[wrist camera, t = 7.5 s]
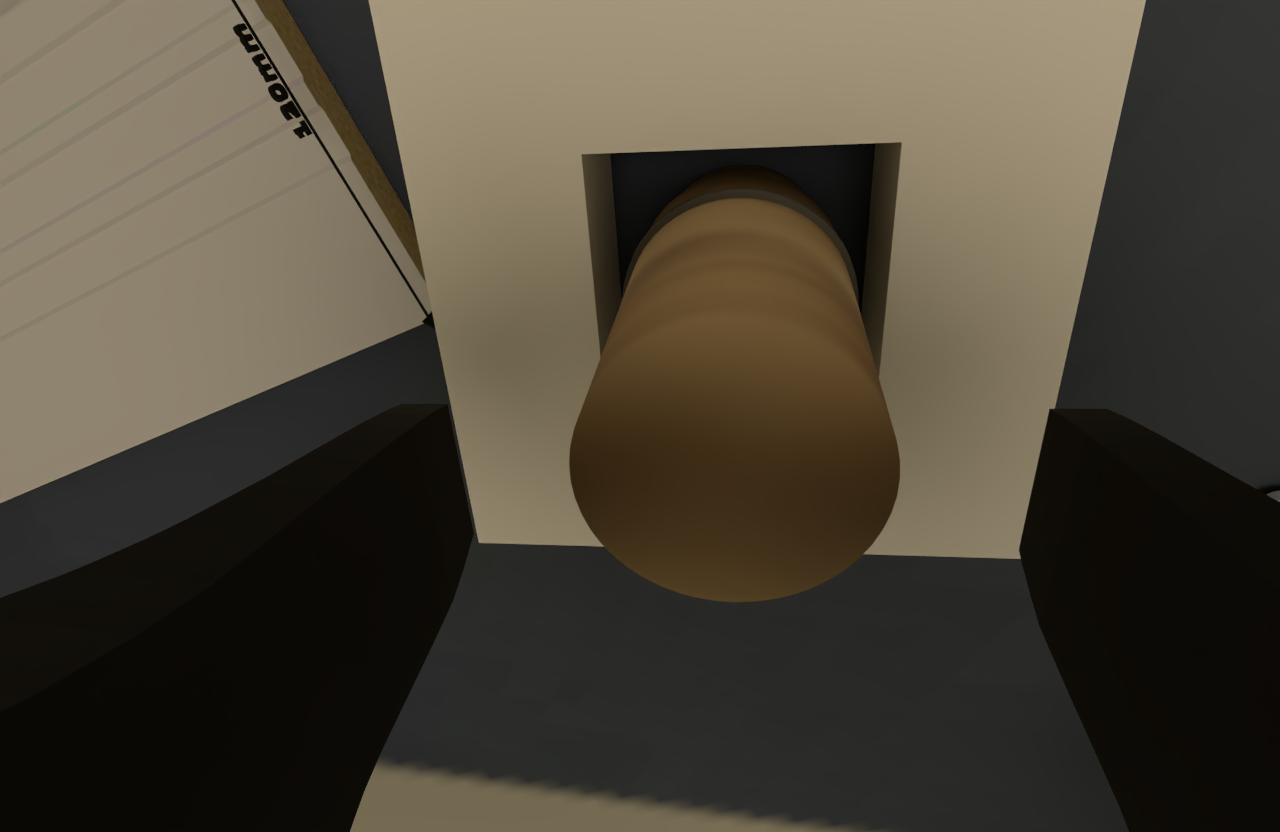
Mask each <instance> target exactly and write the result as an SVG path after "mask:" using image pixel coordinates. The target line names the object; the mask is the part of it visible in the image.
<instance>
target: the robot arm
mask: <svg viewBox="0 0 1280 832" xmlns="http://www.w3.org/2000/svg"><path fill="white" fill-rule="evenodd" d="M473 534H474V532H473V528H472V523H471V518H470V513H469V508H468V503H467V498H466V493H465V489H464V484H463V479H462V474H461V469H460V464H459V459H458V454H457V449H456V445H455V440H454V435H453V430H452V425H451V420H450V415H449V410H448V406H447V404H401V405H399V406H396V407H394V408H391V409H389V410H387V411H385V412H382V413H380V414H378V415H376V416H375V417H373V418H371V419H369V420H367V421H365V422H363V423H361V424H359V425H358V426H356V427H354V428H352V429H350V430H349V431H347V432H345V433H343V434H342V435H340V436H338V437H336V438H335V439H333V440H331V441H329V442H328V443H326V444H324V445H322V446H320V447H319V448H317V449H315V450H313V451H312V452H310V453H308V454H306V455H305V456H303V457H301V458H299V459H298V460H296V461H294V462H292V463H291V464H289V465H287V466H285V467H284V468H282V469H280V470H278V471H277V472H275V473H273V474H271V475H269V476H268V477H266V478H264V479H262V480H260V481H258V482H257V483H255V484H253V485H251V486H249V487H247V488H245V489H243V490H241V491H239V492H238V493H236V494H234V495H232V496H230V497H228V498H226V499H224V500H222V501H220V502H219V503H217V504H215V505H213V506H211V507H209V508H207V509H205V510H203V511H202V512H200V513H198V514H196V515H194V516H192V517H190V518H188V519H186V520H184V521H182V522H180V523H178V524H176V525H174V526H172V527H170V528H168V529H166V530H164V531H162V532H160V533H157V534H155V535H153V536H151V537H149V538H147V539H145V540H142V541H140V542H138V543H136V544H134V545H131V546H129V547H127V548H124V549H122V550H120V551H118V552H115V553H113V554H111V555H108V556H106V557H104V558H101V559H99V560H97V561H95V562H92V563H90V564H88V565H85V566H83V567H81V568H78V569H76V570H73V571H71V572H68V573H66V574H63V575H61V576H58V577H56V578H53V579H50V580H48V581H45V582H42V583H39V584H37V585H34V586H31V587H29V588H26V589H23V590H21V591H18V592H15V593H13V594H10V595H7V596H4V597H2V598H0V832H350V829H351V826H352V824H353V821H354V818H355V815H356V812H357V809H358V807H359V804H360V801H361V798H362V796H363V793H364V790H365V788H366V786H367V783H368V781H369V779H370V776H371V774H372V772H373V769H374V767H375V765H376V762H377V760H378V758H379V755H380V753H381V751H382V749H383V747H384V745H385V743H386V741H387V738H388V736H389V734H390V732H391V730H392V728H393V726H394V724H395V722H396V720H397V718H398V716H399V713H400V711H401V709H402V707H403V705H404V703H405V701H406V699H407V697H408V695H409V693H410V691H411V689H412V686H413V684H414V682H415V680H416V678H417V676H418V674H419V672H420V670H421V668H422V666H423V664H424V662H425V659H426V657H427V655H428V653H429V651H430V649H431V647H432V645H433V643H434V640H435V638H436V636H437V634H438V632H439V630H440V628H441V626H442V623H443V621H444V619H445V617H446V615H447V613H448V610H449V608H450V606H451V604H452V602H453V599H454V596H455V593H456V590H457V587H458V584H459V581H460V578H461V575H462V572H463V569H464V565H465V562H466V558H467V555H468V551H469V548H470V545H471V541H472V538H473ZM1019 553H1020V557H1021V561H1022V565H1023V569H1024V572H1025V576H1026V580H1027V584H1028V588H1029V592H1030V595H1031V598H1032V602H1033V605H1034V609H1035V612H1036V615H1037V619H1038V622H1039V625H1040V628H1041V630H1042V632H1043V635H1044V637H1045V640H1046V642H1047V644H1048V647H1049V649H1050V651H1051V654H1052V656H1053V658H1054V660H1055V663H1056V665H1057V667H1058V670H1059V672H1060V674H1061V676H1062V679H1063V681H1064V683H1065V686H1066V688H1067V690H1068V692H1069V695H1070V697H1071V699H1072V701H1073V704H1074V706H1075V708H1076V710H1077V712H1078V715H1079V717H1080V719H1081V721H1082V724H1083V726H1084V728H1085V730H1086V733H1087V735H1088V737H1089V739H1090V742H1091V744H1092V746H1093V748H1094V751H1095V753H1096V755H1097V757H1098V759H1099V762H1100V764H1101V766H1102V768H1103V771H1104V773H1105V775H1106V777H1107V780H1108V782H1109V784H1110V786H1111V789H1112V791H1113V793H1114V795H1115V798H1116V800H1117V802H1118V804H1119V807H1120V809H1121V812H1122V814H1123V817H1124V819H1125V822H1126V824H1127V827H1128V829H1129V832H1280V491H1274V492H1271V493H1269V494H1264V493H1262V492H1260V491H1259V490H1257V489H1255V488H1253V487H1251V486H1250V485H1248V484H1246V483H1244V482H1242V481H1241V480H1239V479H1237V478H1235V477H1233V476H1232V475H1230V474H1228V473H1226V472H1225V471H1223V470H1221V469H1219V468H1217V467H1216V466H1214V465H1212V464H1210V463H1209V462H1207V461H1205V460H1203V459H1202V458H1200V457H1198V456H1196V455H1194V454H1193V453H1191V452H1189V451H1187V450H1186V449H1184V448H1182V447H1180V446H1179V445H1177V444H1175V443H1173V442H1171V441H1170V440H1168V439H1166V438H1164V437H1162V436H1160V435H1159V434H1157V433H1155V432H1153V431H1151V430H1149V429H1148V428H1146V427H1144V426H1142V425H1140V424H1138V423H1136V422H1134V421H1132V420H1130V419H1128V418H1126V417H1124V416H1122V415H1119V414H1117V413H1115V412H1112V411H1110V410H1108V409H1049V414H1048V418H1047V423H1046V427H1045V432H1044V436H1043V441H1042V446H1041V450H1040V455H1039V459H1038V464H1037V468H1036V473H1035V478H1034V482H1033V487H1032V491H1031V496H1030V500H1029V505H1028V510H1027V514H1026V519H1025V523H1024V528H1023V532H1022V537H1021V542H1020V546H1019Z"/></svg>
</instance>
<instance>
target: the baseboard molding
mask: <svg viewBox="0 0 1280 832" xmlns="http://www.w3.org/2000/svg"><path fill="white" fill-rule="evenodd" d="M424 323H425V324H427V325H429V326H430V327H432V328H435V324H434V319H433V314H432V309H431V305H430V300H429V295H428V290H427V285H426V280H425V275H424V270H423V265H422V260H421V255H420V250H419V245H418V241H417V236H416V231H415V226H414V223H413V222H412V220H411V218H410V216H409V215H408V213H407V211H406V210H405V208H404V206H403V205H402V203H401V201H400V199H399V198H398V196H397V194H396V193H395V191H394V189H393V188H392V186H391V184H390V183H389V181H388V179H387V177H386V176H385V174H384V172H383V171H382V169H381V167H380V166H379V164H378V162H377V161H376V159H375V157H374V155H373V154H372V152H371V150H370V149H369V147H368V145H367V144H366V142H365V140H364V139H363V137H362V135H361V133H360V132H359V130H358V128H357V127H356V125H355V123H354V122H353V120H352V118H351V117H350V115H349V113H348V111H347V110H346V108H345V106H344V105H343V103H342V101H341V100H340V98H339V96H338V95H337V93H336V91H335V89H334V88H333V86H332V84H331V83H330V81H329V79H328V78H327V76H326V74H325V73H324V71H323V69H322V67H321V66H320V64H319V62H318V61H317V59H316V57H315V56H314V54H313V52H312V51H311V49H310V47H309V45H308V44H307V42H306V40H305V39H304V37H303V35H302V34H301V32H300V30H299V28H298V27H297V25H296V23H295V22H294V20H293V18H292V17H291V15H290V13H289V12H288V10H287V8H286V6H285V5H284V3H283V1H282V0H0V503H2V502H4V501H6V500H9V499H11V498H14V497H16V496H18V495H21V494H23V493H25V492H28V491H30V490H32V489H35V488H37V487H40V486H42V485H44V484H47V483H49V482H51V481H54V480H56V479H58V478H61V477H63V476H65V475H68V474H70V473H73V472H75V471H77V470H80V469H82V468H84V467H87V466H89V465H91V464H94V463H96V462H98V461H101V460H103V459H106V458H108V457H110V456H113V455H115V454H117V453H120V452H122V451H124V450H127V449H129V448H131V447H134V446H136V445H139V444H141V443H143V442H146V441H148V440H150V439H153V438H155V437H157V436H160V435H162V434H164V433H167V432H169V431H172V430H174V429H176V428H179V427H181V426H183V425H186V424H188V423H190V422H193V421H195V420H197V419H200V418H202V417H205V416H207V415H209V414H212V413H214V412H216V411H219V410H221V409H223V408H226V407H228V406H230V405H233V404H235V403H238V402H240V401H242V400H245V399H247V398H249V397H252V396H254V395H256V394H259V393H261V392H263V391H266V390H268V389H271V388H273V387H275V386H278V385H280V384H282V383H285V382H287V381H289V380H292V379H294V378H296V377H299V376H301V375H304V374H306V373H308V372H311V371H313V370H315V369H318V368H320V367H322V366H325V365H327V364H329V363H332V362H334V361H337V360H339V359H341V358H344V357H346V356H348V355H351V354H353V353H355V352H358V351H360V350H362V349H365V348H367V347H370V346H372V345H374V344H377V343H379V342H381V341H384V340H386V339H388V338H391V337H393V336H395V335H398V334H400V333H403V332H405V331H407V330H410V329H412V328H414V327H417V326H419V325H421V324H424Z"/></svg>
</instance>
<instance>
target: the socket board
mask: <svg viewBox="0 0 1280 832" xmlns="http://www.w3.org/2000/svg"><path fill="white" fill-rule="evenodd" d="M1145 2H1146V0H369V4H370V9H371V14H372V19H373V24H374V29H375V34H376V39H377V44H378V49H379V54H380V59H381V63H382V68H383V73H384V78H385V83H386V88H387V93H388V98H389V103H390V108H391V113H392V118H393V123H394V127H395V132H396V137H397V142H398V147H399V152H400V157H401V162H402V167H403V172H404V177H405V182H406V186H407V191H408V196H409V201H410V206H411V211H412V216H413V221H414V226H415V231H416V236H417V241H418V245H419V250H420V255H421V260H422V265H423V270H424V275H425V280H426V285H427V290H428V295H429V300H430V305H431V309H432V314H433V319H434V324H435V329H436V334H437V339H438V344H439V349H440V354H441V359H442V364H443V368H444V373H445V378H446V383H447V388H448V393H449V398H450V403H451V408H452V413H453V418H454V423H455V427H456V432H457V437H458V442H459V447H460V452H461V457H462V462H463V467H464V472H465V477H466V482H467V486H468V491H469V496H470V501H471V506H472V511H473V516H474V521H475V526H476V531H477V536H478V541H479V543H504V544H538V545H572V546H603V545H602V544H601V543H600V541H599V540H598V539H597V537H596V536H595V535H594V534H593V532H592V531H591V530H590V528H589V526H588V525H587V523H586V521H585V519H584V518H583V516H582V514H581V512H580V509H579V507H578V504H577V502H576V500H575V497H574V493H573V489H572V484H571V480H570V469H569V456H570V444H571V440H572V436H573V431H574V427H575V425H576V422H577V419H578V417H579V414H580V411H581V409H582V406H583V403H584V401H585V398H586V395H587V393H588V390H589V387H590V385H591V382H592V379H593V377H594V374H595V371H596V369H597V366H598V363H599V361H600V358H601V355H602V353H603V350H604V347H605V345H606V342H607V339H608V337H609V334H610V331H611V329H612V326H613V323H614V321H615V318H616V315H617V313H618V310H619V307H620V305H621V302H622V298H621V285H620V272H619V259H618V246H617V233H616V220H615V207H614V194H613V181H612V168H611V155H610V153H630V152H657V151H683V150H710V149H737V148H763V147H790V146H816V145H843V144H870V143H875V150H874V163H873V175H872V188H871V200H870V212H869V225H868V237H867V249H866V262H865V274H864V286H863V299H862V311H861V318H862V321H863V325H864V328H865V332H866V335H867V339H868V342H869V346H870V349H871V353H872V356H873V359H874V363H875V366H876V370H877V373H878V377H879V380H880V384H881V387H882V391H883V394H884V398H885V401H886V405H887V408H888V412H889V415H890V419H891V422H892V426H893V429H894V433H895V436H896V440H897V445H898V451H899V457H900V481H899V487H898V494H897V498H896V501H895V504H894V507H893V510H892V513H891V515H890V517H889V519H888V521H887V523H886V525H885V527H884V529H883V530H882V532H881V533H880V535H879V536H878V537H877V539H876V540H875V542H874V543H873V544H872V545H871V546H870V548H869V549H868V550H867V551H866V552H865V553H864V554H874V555H908V556H942V557H975V558H1009V559H1021V557H1020V553H1019V546H1020V542H1021V537H1022V532H1023V528H1024V523H1025V519H1026V514H1027V510H1028V505H1029V500H1030V496H1031V491H1032V487H1033V482H1034V478H1035V473H1036V468H1037V464H1038V459H1039V455H1040V450H1041V446H1042V441H1043V436H1044V432H1045V427H1046V423H1047V418H1048V414H1049V409H1055V405H1056V401H1057V396H1058V392H1059V387H1060V383H1061V378H1062V374H1063V369H1064V365H1065V360H1066V356H1067V351H1068V347H1069V342H1070V338H1071V333H1072V329H1073V324H1074V320H1075V315H1076V311H1077V306H1078V302H1079V298H1080V293H1081V289H1082V284H1083V280H1084V275H1085V271H1086V266H1087V262H1088V257H1089V253H1090V248H1091V244H1092V239H1093V235H1094V230H1095V226H1096V221H1097V217H1098V212H1099V208H1100V203H1101V199H1102V194H1103V190H1104V186H1105V181H1106V177H1107V172H1108V168H1109V163H1110V159H1111V154H1112V150H1113V145H1114V141H1115V136H1116V132H1117V127H1118V123H1119V118H1120V114H1121V109H1122V105H1123V100H1124V96H1125V91H1126V87H1127V82H1128V78H1129V74H1130V69H1131V65H1132V60H1133V56H1134V51H1135V47H1136V42H1137V38H1138V33H1139V29H1140V24H1141V20H1142V15H1143V11H1144V6H1145Z"/></svg>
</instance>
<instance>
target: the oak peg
mask: <svg viewBox="0 0 1280 832" xmlns="http://www.w3.org/2000/svg"><path fill="white" fill-rule="evenodd" d="M858 306H859V298H858V285H857V280H856V275H855V271H854V268H853V265H852V262H851V259H850V256H849V254H848V252H847V250H846V248H845V246H844V244H843V242H842V240H841V239H840V238H839V236H838V235H837V233H836V231H835V229H834V227H833V225H832V223H831V221H830V220H829V218H828V217H827V215H826V214H825V213H824V211H823V210H822V209H821V208H820V207H819V206H818V205H817V204H816V203H815V201H814V200H812V199H811V198H810V197H809V196H807V195H806V194H805V193H804V192H803V191H802V190H801V189H800V188H799V187H798V186H797V185H796V184H795V183H794V182H792V181H791V180H790V179H789V178H787V177H785V176H784V175H782V174H780V173H778V172H776V171H773V170H771V169H768V168H764V167H760V166H753V165H735V166H728V167H724V168H720V169H717V170H714V171H712V172H710V173H707V174H706V175H704V176H702V177H700V178H699V179H697V180H696V181H695V182H693V183H692V184H691V185H690V186H689V187H688V188H687V189H686V190H685V191H684V192H682V193H681V194H680V195H678V196H677V197H676V198H674V199H673V200H672V201H671V202H670V203H669V204H668V205H667V206H666V207H665V208H664V209H663V210H662V211H661V213H660V214H659V215H658V217H657V218H656V219H655V220H654V222H653V224H652V226H651V228H650V229H649V231H648V232H647V233H646V235H645V236H644V237H643V239H642V240H641V242H640V243H639V245H638V247H637V249H636V251H635V252H634V255H633V257H632V260H631V262H630V265H629V268H628V270H627V273H626V277H625V282H624V286H623V296H622V302H621V305H620V307H619V310H618V313H617V315H616V318H615V321H614V323H613V326H612V329H611V331H610V334H609V337H608V339H607V342H606V345H605V347H604V350H603V353H602V355H601V358H600V361H599V363H598V366H597V369H596V371H595V374H594V377H593V379H592V382H591V385H590V387H589V390H588V393H587V395H586V398H585V401H584V403H583V406H582V409H581V411H580V414H579V417H578V419H577V422H576V425H575V427H574V431H573V436H572V440H571V444H570V456H569V469H570V480H571V484H572V489H573V493H574V497H575V500H576V502H577V504H578V507H579V509H580V512H581V514H582V516H583V518H584V519H585V521H586V523H587V525H588V526H589V528H590V530H591V531H592V532H593V534H594V535H595V536H596V537H597V539H598V540H599V541H600V543H601V544H602V545H603V546H604V547H605V548H606V549H607V550H608V551H609V552H610V553H611V554H612V555H613V556H614V557H615V558H617V559H618V560H619V561H620V562H621V563H623V564H624V565H625V566H626V567H628V568H629V569H631V570H632V571H634V572H635V573H637V574H639V575H640V576H642V577H643V578H645V579H647V580H649V581H651V582H653V583H655V584H657V585H659V586H662V587H664V588H667V589H670V590H672V591H675V592H678V593H681V594H685V595H689V596H692V597H696V598H702V599H708V600H714V601H726V602H755V601H763V600H771V599H777V598H781V597H785V596H789V595H793V594H796V593H799V592H802V591H805V590H808V589H811V588H813V587H815V586H817V585H819V584H821V583H823V582H826V581H828V580H830V579H831V578H833V577H834V576H836V575H838V574H839V573H841V572H842V571H844V570H845V569H847V568H848V567H849V566H850V565H852V564H853V563H854V562H855V561H856V560H858V559H859V558H860V557H861V556H862V555H863V554H864V553H865V552H866V551H867V550H868V549H869V548H870V546H871V545H872V544H873V543H874V542H875V540H876V539H877V537H878V536H879V535H880V533H881V532H882V530H883V529H884V527H885V525H886V523H887V521H888V519H889V517H890V515H891V513H892V510H893V507H894V504H895V501H896V498H897V494H898V487H899V481H900V457H899V451H898V445H897V440H896V436H895V433H894V429H893V426H892V422H891V419H890V415H889V412H888V408H887V405H886V401H885V398H884V394H883V391H882V387H881V384H880V380H879V377H878V373H877V370H876V366H875V363H874V359H873V356H872V353H871V349H870V346H869V342H868V339H867V335H866V332H865V328H864V325H863V321H862V318H861V314H860V311H859V307H858Z"/></svg>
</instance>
